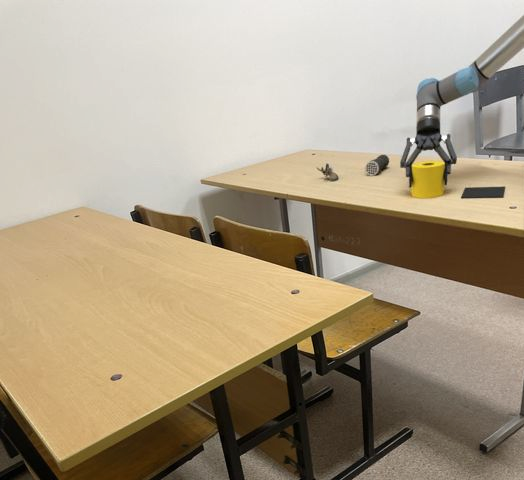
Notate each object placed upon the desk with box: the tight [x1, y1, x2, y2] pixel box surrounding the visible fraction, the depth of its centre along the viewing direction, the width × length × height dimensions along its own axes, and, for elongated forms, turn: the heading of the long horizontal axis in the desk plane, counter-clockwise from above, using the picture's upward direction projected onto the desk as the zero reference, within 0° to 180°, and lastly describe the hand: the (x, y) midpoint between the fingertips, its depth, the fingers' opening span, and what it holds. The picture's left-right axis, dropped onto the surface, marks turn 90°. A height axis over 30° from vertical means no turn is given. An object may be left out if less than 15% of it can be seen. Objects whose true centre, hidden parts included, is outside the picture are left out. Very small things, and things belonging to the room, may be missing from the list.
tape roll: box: [411, 160, 445, 199], centre depth 171 cm, size 10×10×9 cm
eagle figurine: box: [316, 163, 339, 182], centre depth 209 cm, size 8×7×9 cm
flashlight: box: [364, 154, 390, 177], centre depth 211 cm, size 15×5×5 cm, turn 152°
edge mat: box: [460, 186, 506, 199], centre depth 166 cm, size 12×12×1 cm
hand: (427, 183), depth 169 cm, fingers closed on tape roll, 10 cm apart
